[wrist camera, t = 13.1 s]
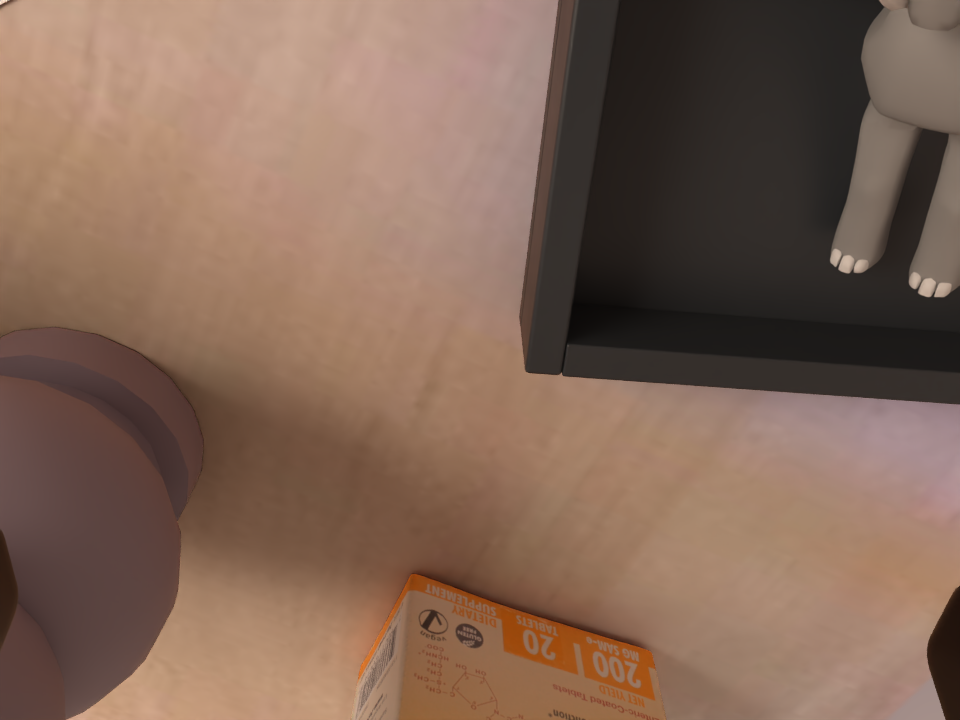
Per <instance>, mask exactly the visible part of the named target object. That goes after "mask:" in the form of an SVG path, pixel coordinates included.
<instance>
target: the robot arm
mask: <svg viewBox="0 0 960 720" xmlns="http://www.w3.org/2000/svg"><path fill="white" fill-rule="evenodd" d="M17 604H18V586H17V582H16V578H15V574H14V570H13V567H12V563H11V559H10V555H9V552H8V548H7V544H6V540H5V537H4V534H3V532H2V531H1V529H0V652H1V649H2V646H3V644H4V641H5V639H6V636H7V634H8V631H9V629H10V626H11V623H12V621H13V618H14V616H15V613H16V609H17ZM927 658H928V665H929V669H930V672H931V675H932V678H933V681H934V684H935V688H936V691H937V694H938V697H939V700H940V703H941V706H942V709H943V713H944V716H945V719H946V720H960V586H959V587H958V588H956V589H955V591H954V592H953V594H952V596H951V597H950V599H949V601H948V603H947V605H946V607H945V609H944V611H943V613H942V615H941V617H940V619H939V621H938V623H937V624H936V626H935V628H934V630H933V632H932V634H931V636H930V639H929V642H928V647H927Z"/></svg>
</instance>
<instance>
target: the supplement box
mask: <svg viewBox="0 0 960 720" xmlns="http://www.w3.org/2000/svg"><path fill="white" fill-rule="evenodd" d="M351 720H666V716H665V711H664V706H663V702H662V697H661V692H660V687H659V682H658V678H657V673H656V669H655V664H654V660H653V655H652V653H651V652H650V651H649V650H646V649H643V648H640V647H637V646H634V645H629V644H627V643H623V642H619V641H616V640H613V639H609V638H606V637H603V636H600V635H596V634H594V633H591V632H586V631H583V630H580V629H577V628H574V627H570V626H567V625H564V624H561V623H557V622H555V621H550V620H548V619H545V618H540V617H538V616H534V615H530V614H528V613H525V612H521V611H519V610H516V609H512V608H509V607H507V606H504V605H499V604H497V603H494V602H491V601H489V600H486V599H483V598H481V597H478V596H475V595H473V594H470V593H467V592H464V591H462V590H460V589H456V588H453V587H452V586H449V585H445V584H443V583H440V582H438V581H436V580H432V579H429V578H426V577H424V576H421V575H417V574H411V575H410V577H409V579H408V581H407V583H406V585H405V587H404V589H403V591H402V593H401V594H400V596H399V598H398V600H397V602H396V604H395V606H394V608H393V609H392V611H391V614H390V615H389V617H388V619H387V620H386V623H385V624H384V627H383V628H382V629H381V632H380V634H379V635H378V637H377V639H376V640H375V643H374V645H373V646H372V648H371V649H370V652H369V653H368V655H367V657H366V658H365V660H364V662H363V663H362V665H361V669H360V672H359V677H358V682H357V687H356V693H355V699H354V704H353V710H352V716H351Z"/></svg>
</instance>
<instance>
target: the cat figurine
mask: <svg viewBox="0 0 960 720" xmlns="http://www.w3.org/2000/svg"><path fill="white" fill-rule="evenodd" d="M202 458H203V437H202V434H201V431H200V428H199V425H198V422H197V419H196V416H195V413H194V410H193V408H192V406H191V405H190V404H189V402H188V401H187V400H186V398H185V397H184V396H183V394H182V393H181V392H180V390H179V389H178V388H177V386H176V385H175V384H174V382H173V381H172V380H171V378H170V377H168V376H167V375H166V374H165V373H163V372H162V371H161V370H159V369H158V368H157V367H156V366H154V365H153V364H152V363H150V362H149V361H148V360H147V359H145V358H144V357H143V356H141V355H140V354H139V353H138V352H135V351H133V350H131V349H129V348H127V347H124V346H122V345H120V344H118V343H115V342H113V341H111V340H109V339H106V338H104V337H102V336H100V335H97V334H91V333H86V332H80V331H74V330H69V329H63V328H57V327H50V328H40V329H29V330H19V331H13V332H11V333H9V334H7V335H4V336H2V337H0V529H1V531H2V532H3V534H4V537H5V540H6V544H7V548H8V552H9V555H10V559H11V563H12V567H13V570H14V574H15V578H16V582H17V586H18V604H17V609H16V613H15V616H14V618H13V621H12V623H11V626H10V629H9V631H8V634H7V636H6V639H5V641H4V644H3V646H2V649H1V652H0V720H66V719H69V718H71V717H73V716H76V715H78V714H80V713H83V712H84V711H86V710H87V709H88V708H90V707H91V706H93V705H94V704H96V703H97V702H98V701H100V700H101V699H102V698H103V697H105V696H106V695H107V694H108V693H110V692H111V691H112V690H113V689H114V688H116V687H117V686H118V685H119V684H121V683H122V682H123V681H124V680H126V679H127V678H128V677H129V676H131V675H132V674H133V673H134V671H135V670H136V669H137V668H138V667H139V666H140V665H141V664H142V663H143V662H144V660H145V659H146V657H147V656H148V654H149V652H150V650H151V648H152V647H153V645H154V643H155V641H156V639H157V637H158V635H159V634H160V632H161V630H162V628H163V626H164V624H165V622H166V620H167V618H168V617H169V615H170V613H171V611H172V609H173V607H174V604H175V600H176V596H177V592H178V584H179V568H180V552H181V532H180V529H179V526H178V523H177V521H178V519H179V517H180V515H181V513H182V511H183V509H184V507H185V505H186V503H187V501H188V499H189V497H190V495H191V493H192V490H193V488H194V486H195V484H196V482H197V479H198V477H199V475H200V473H201V471H202Z"/></svg>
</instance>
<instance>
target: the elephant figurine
mask: <svg viewBox="0 0 960 720" xmlns="http://www.w3.org/2000/svg"><path fill="white" fill-rule="evenodd" d="M879 1H880V2H881V4H882V5H883V6H884V8H883V9H882V11H881V12H880V13H879V15H878V16H877V17H876V18H875V19H874V20H873V22H872V24H871V25H870V27H869V29H868V31H867V33H866V36H865V39H864V44H863V50H862V55H861V61H862V65H863V70H864V75H865V79H866V83H867V87H868V91H869V95H870V98H871V99H870V102H869V104H868V106H867V108H866V111H865V113H864V116H863V119H862V123H861V127H860V134H859V140H858V146H857V152H856V158H855V164H854V168H853V173H852V178H851V183H850V188H849V193H848V197H847V201H846V204H845V207H844V210H843V212H842V215H841V218H840V221H839V224H838V227H837V230H836V233H835V236H834V240H833V243H832V248H831V258H830V262H831V264H833V265H834V266H835V267H837V265H838V264H839V263H840V265H839V270H840V271H841V272H844V273H850V272H851V271H852V269H853V268H854V273H862V272H864V271H866V270H867V269H869V268H870V267H872V266H873V265H874V264H876V263H877V262H878V261H879V260H880V259H881V257H882V256H883V254H884V252H885V249H886V245H887V241H888V236H889V232H890V227H891V223H892V220H893V217H894V214H895V210H896V207H897V204H898V201H899V198H900V195H901V192H902V188H903V185H904V182H905V178H906V175H907V171H908V168H909V165H910V162H911V159H912V156H913V154H914V151H915V148H916V146H917V143H918V141H919V138H920V135H921V132H922V129H923V128H924V129H928V130H933V131H938V132H943V133H949V138H948V143H947V147H946V150H945V153H944V157H943V161H942V165H941V169H940V173H939V177H938V181H937V184H936V187H935V191H934V194H933V197H932V201H931V204H930V207H929V211H928V214H927V217H926V221H925V224H924V228H923V232H922V235H921V238H920V242H919V245H918V248H917V250H916V253H915V255H914V258H913V260H912V263H911V265H910V270H909V285H910V286H911V287H912V288H914V289H917V288H918V286H920V288H919V291H918V293H919V294H920V295H923V296H926V297H931V296H932V294H933V293H934V291H936V292H935V295H934V297H945V296H947V295H948V294H949V293H950V292H952V291H953V290H955V289H956V288H957V287H958V286H960V0H879Z"/></svg>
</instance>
